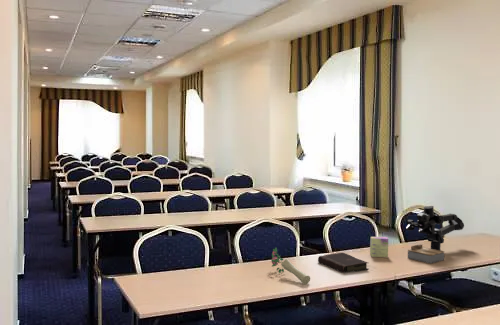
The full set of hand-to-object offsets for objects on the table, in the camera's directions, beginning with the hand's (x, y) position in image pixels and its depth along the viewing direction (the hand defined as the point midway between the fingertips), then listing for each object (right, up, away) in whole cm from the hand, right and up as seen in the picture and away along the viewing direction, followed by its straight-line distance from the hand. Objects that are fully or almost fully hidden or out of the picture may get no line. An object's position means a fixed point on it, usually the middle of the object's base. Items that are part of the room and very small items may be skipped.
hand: (412, 230), depth 320 cm
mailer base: (+7, -17, -4) cm, 19 cm away
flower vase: (-80, -19, -43) cm, 93 cm away
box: (-20, -17, +3) cm, 26 cm away
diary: (-47, -18, -22) cm, 55 cm away
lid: (+7, -12, -5) cm, 15 cm away
